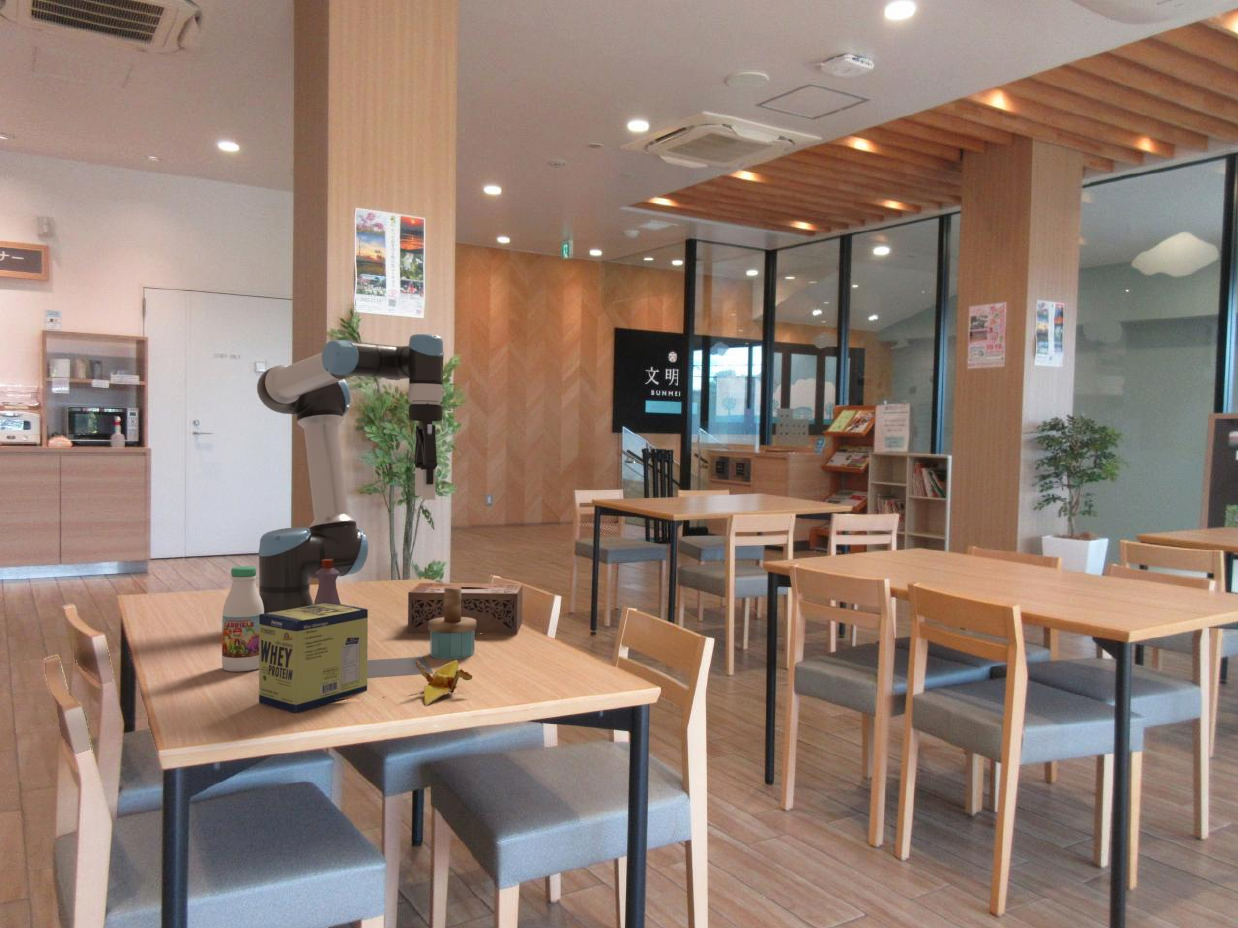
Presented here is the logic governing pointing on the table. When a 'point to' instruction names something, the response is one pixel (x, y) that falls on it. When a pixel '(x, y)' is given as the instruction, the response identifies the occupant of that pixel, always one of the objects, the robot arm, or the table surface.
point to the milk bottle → (241, 622)
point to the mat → (396, 667)
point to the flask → (327, 583)
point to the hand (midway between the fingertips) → (424, 497)
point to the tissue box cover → (468, 606)
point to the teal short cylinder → (452, 645)
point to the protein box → (312, 655)
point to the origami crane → (442, 680)
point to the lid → (452, 615)
